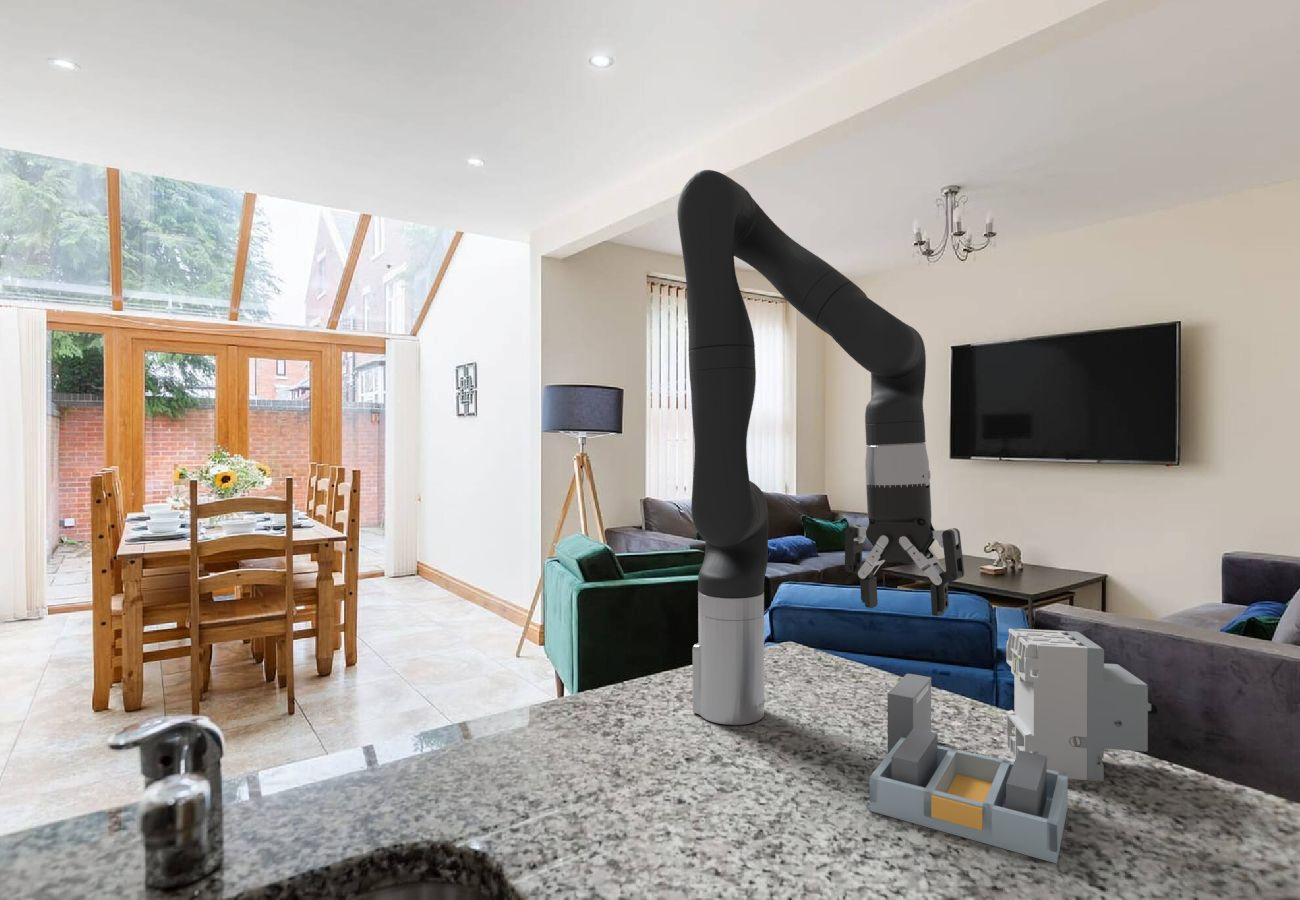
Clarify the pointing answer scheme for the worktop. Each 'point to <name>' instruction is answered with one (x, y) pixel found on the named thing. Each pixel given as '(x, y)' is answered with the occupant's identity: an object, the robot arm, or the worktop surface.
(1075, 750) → the circuit breaker
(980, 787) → the rack
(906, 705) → the rectangular block
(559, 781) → the worktop surface
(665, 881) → the worktop surface
